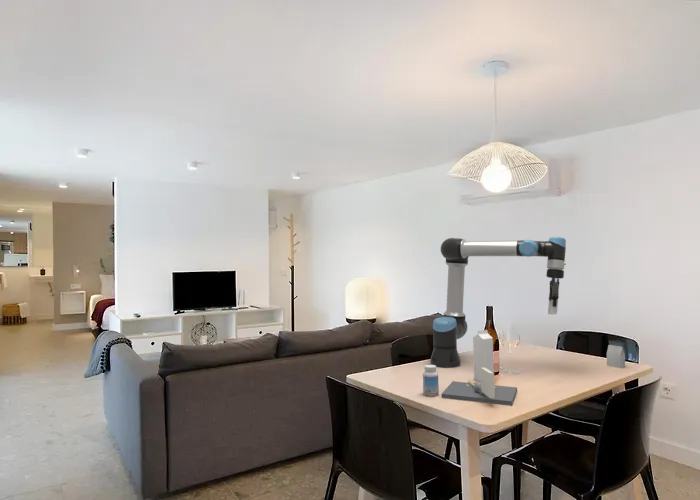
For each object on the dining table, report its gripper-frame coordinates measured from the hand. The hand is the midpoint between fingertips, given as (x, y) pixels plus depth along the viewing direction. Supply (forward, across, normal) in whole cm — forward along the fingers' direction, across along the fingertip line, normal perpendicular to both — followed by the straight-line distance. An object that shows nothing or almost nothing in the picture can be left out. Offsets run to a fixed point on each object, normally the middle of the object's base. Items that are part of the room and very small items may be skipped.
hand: (552, 314), depth 219 cm
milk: (+33, -21, +27) cm, 48 cm away
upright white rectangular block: (+34, -46, +28) cm, 64 cm away
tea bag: (+22, +22, -32) cm, 44 cm away
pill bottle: (+38, -48, +46) cm, 77 cm away
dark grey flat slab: (+36, -43, +28) cm, 62 cm away
